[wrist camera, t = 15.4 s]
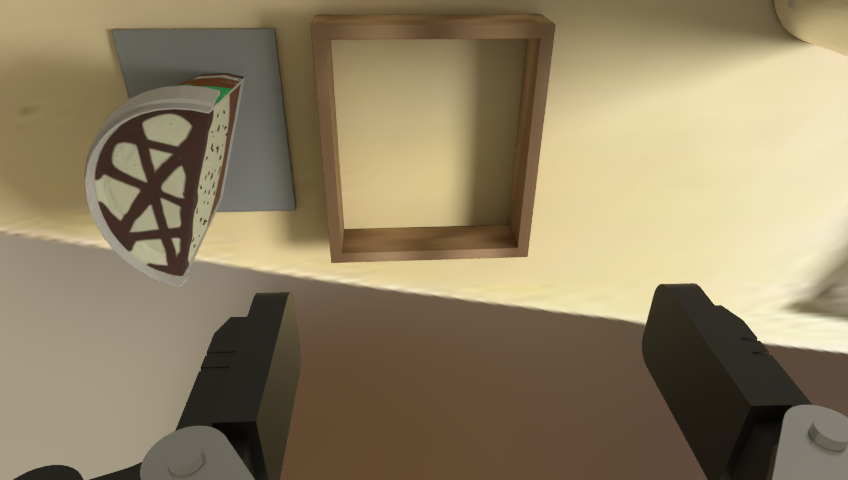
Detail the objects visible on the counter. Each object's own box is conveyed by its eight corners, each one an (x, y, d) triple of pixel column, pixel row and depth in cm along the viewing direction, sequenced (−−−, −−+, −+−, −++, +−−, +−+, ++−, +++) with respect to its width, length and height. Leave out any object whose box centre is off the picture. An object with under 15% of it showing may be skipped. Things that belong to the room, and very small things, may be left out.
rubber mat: (274, 28, 37) (273, 29, 37) (295, 207, 44) (295, 210, 43) (114, 29, 36) (111, 30, 36) (160, 211, 43) (158, 213, 43)
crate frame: (540, 14, 38) (555, 24, 35) (517, 233, 46) (527, 256, 43) (316, 15, 37) (310, 25, 34) (334, 238, 45) (331, 262, 42)
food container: (149, 24, 36) (78, 64, 27) (248, 54, 37) (211, 102, 29) (132, 193, 42) (68, 270, 33) (219, 215, 43) (179, 294, 35)
